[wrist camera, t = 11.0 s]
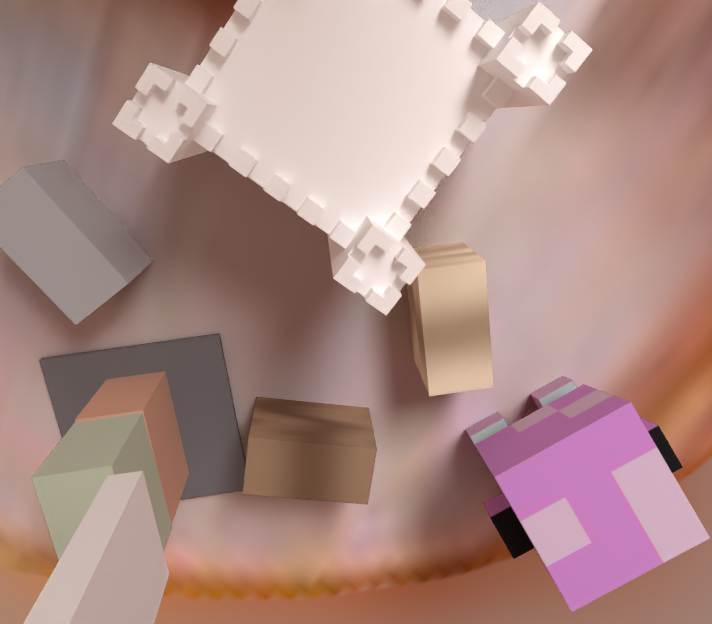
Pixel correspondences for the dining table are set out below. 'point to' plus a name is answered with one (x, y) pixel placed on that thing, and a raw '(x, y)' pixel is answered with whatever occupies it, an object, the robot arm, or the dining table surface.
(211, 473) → the felt mat
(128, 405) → the terracotta brick
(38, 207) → the grey brick
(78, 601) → the robot arm
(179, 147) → the castle model
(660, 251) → the dining table surface
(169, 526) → the sage brick
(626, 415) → the toy
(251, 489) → the walnut brick
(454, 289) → the maple brick
